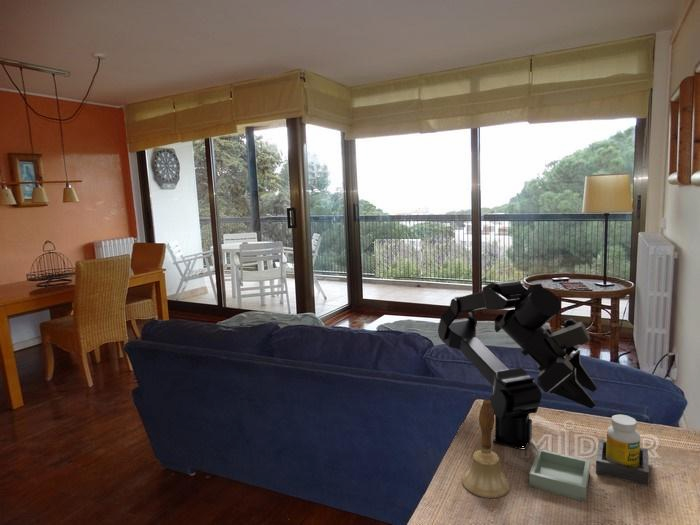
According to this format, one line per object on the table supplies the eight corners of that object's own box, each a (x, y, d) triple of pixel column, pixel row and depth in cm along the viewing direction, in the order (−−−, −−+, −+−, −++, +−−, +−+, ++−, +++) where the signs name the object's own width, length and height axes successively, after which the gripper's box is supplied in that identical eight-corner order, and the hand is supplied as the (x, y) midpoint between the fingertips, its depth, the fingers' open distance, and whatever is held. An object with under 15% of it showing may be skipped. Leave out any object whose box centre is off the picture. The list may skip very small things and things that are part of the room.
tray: (529, 486, 83) (529, 473, 82) (538, 460, 90) (538, 448, 90) (585, 501, 78) (585, 488, 78) (589, 472, 86) (590, 460, 85)
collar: (595, 472, 86) (596, 460, 85) (598, 450, 92) (599, 439, 92) (648, 485, 81) (648, 472, 81) (646, 461, 88) (647, 449, 88)
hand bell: (510, 473, 87) (510, 392, 84) (509, 502, 79) (510, 414, 76) (464, 466, 90) (463, 388, 87) (459, 493, 82) (458, 408, 79)
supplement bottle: (614, 455, 91) (616, 409, 89) (644, 468, 86) (647, 420, 85) (599, 465, 88) (601, 418, 86) (629, 479, 83) (632, 429, 82)
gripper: (555, 317, 80) (631, 387, 75) (565, 300, 96) (628, 357, 92) (509, 358, 85) (578, 427, 80) (526, 335, 101) (584, 391, 96)
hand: (594, 398), depth 87 cm, fingers open, 9 cm apart
